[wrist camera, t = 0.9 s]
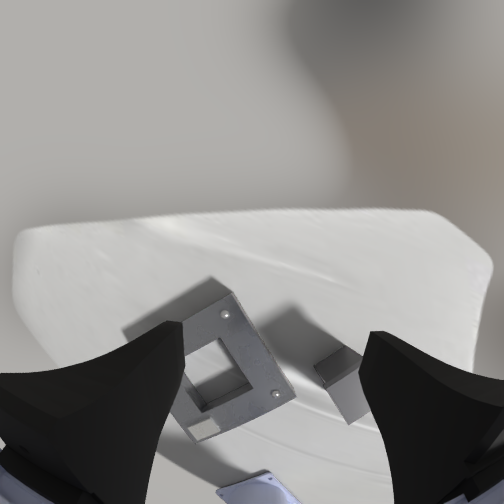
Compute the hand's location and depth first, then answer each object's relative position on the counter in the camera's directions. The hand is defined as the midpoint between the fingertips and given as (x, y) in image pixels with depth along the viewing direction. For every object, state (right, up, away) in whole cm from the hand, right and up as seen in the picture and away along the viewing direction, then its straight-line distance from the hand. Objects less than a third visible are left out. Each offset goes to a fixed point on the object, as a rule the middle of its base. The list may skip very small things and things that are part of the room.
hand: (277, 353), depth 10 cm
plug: (+8, -9, +16) cm, 20 cm away
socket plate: (-5, -8, +17) cm, 19 cm away
